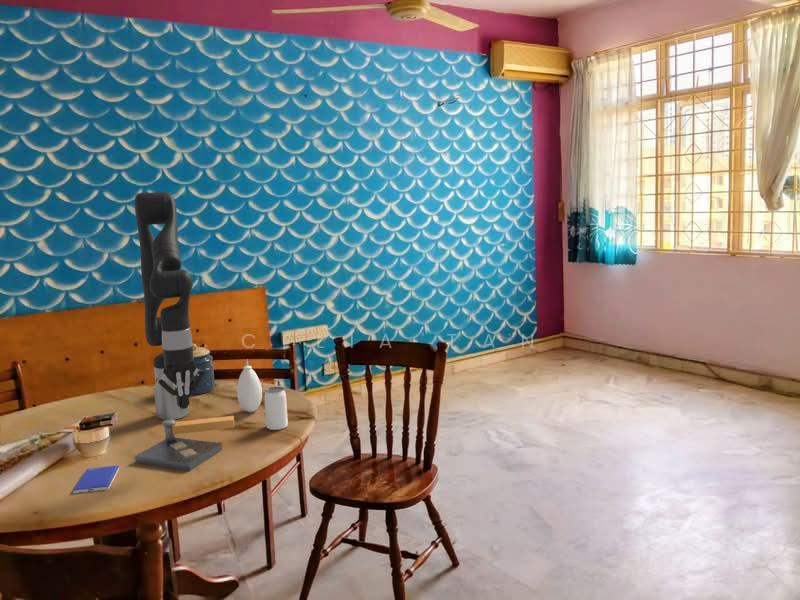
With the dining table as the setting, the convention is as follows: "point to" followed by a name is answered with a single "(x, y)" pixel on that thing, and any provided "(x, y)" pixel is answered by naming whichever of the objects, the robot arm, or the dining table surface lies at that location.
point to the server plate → (179, 453)
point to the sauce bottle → (249, 389)
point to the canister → (204, 364)
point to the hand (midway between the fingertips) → (183, 407)
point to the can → (276, 408)
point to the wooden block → (196, 426)
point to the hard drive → (96, 479)
